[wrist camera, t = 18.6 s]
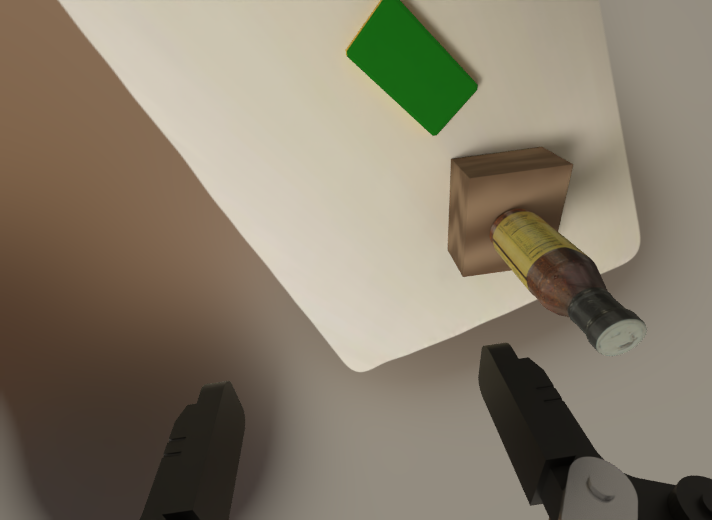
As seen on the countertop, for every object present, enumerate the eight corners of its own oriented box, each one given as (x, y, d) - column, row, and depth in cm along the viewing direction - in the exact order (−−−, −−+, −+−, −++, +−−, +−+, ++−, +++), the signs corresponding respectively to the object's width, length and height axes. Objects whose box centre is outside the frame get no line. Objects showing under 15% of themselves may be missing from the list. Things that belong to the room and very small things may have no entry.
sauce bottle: (531, 245, 48) (646, 365, 31) (484, 252, 48) (574, 376, 31) (540, 199, 44) (675, 307, 28) (489, 206, 44) (593, 319, 27)
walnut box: (451, 159, 48) (469, 178, 42) (542, 146, 48) (573, 164, 42) (447, 254, 56) (462, 281, 50) (525, 243, 56) (549, 269, 50)
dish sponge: (386, -9, 38) (390, -11, 36) (472, 84, 43) (480, 87, 41) (343, 52, 40) (344, 54, 38) (429, 132, 46) (434, 137, 44)
